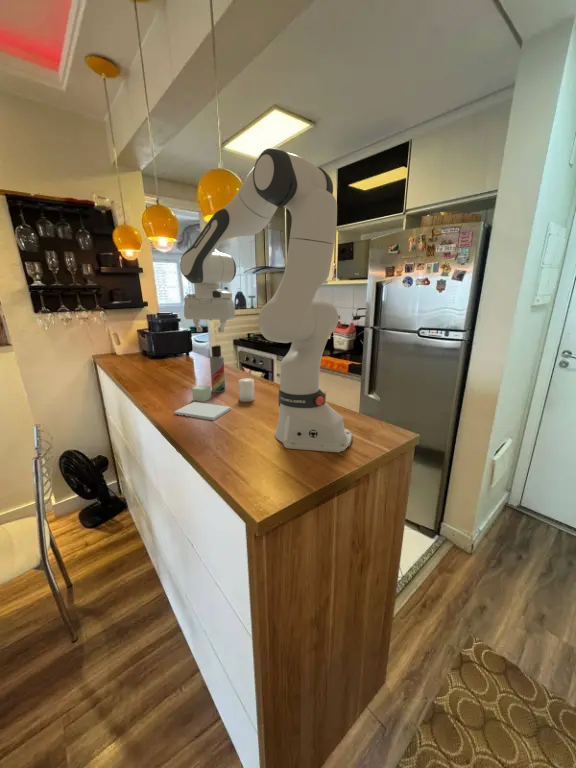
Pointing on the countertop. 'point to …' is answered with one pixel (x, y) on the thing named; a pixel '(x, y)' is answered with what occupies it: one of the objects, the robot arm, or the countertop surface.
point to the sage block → (201, 393)
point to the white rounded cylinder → (246, 390)
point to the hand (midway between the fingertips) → (210, 331)
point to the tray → (203, 410)
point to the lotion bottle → (217, 369)
